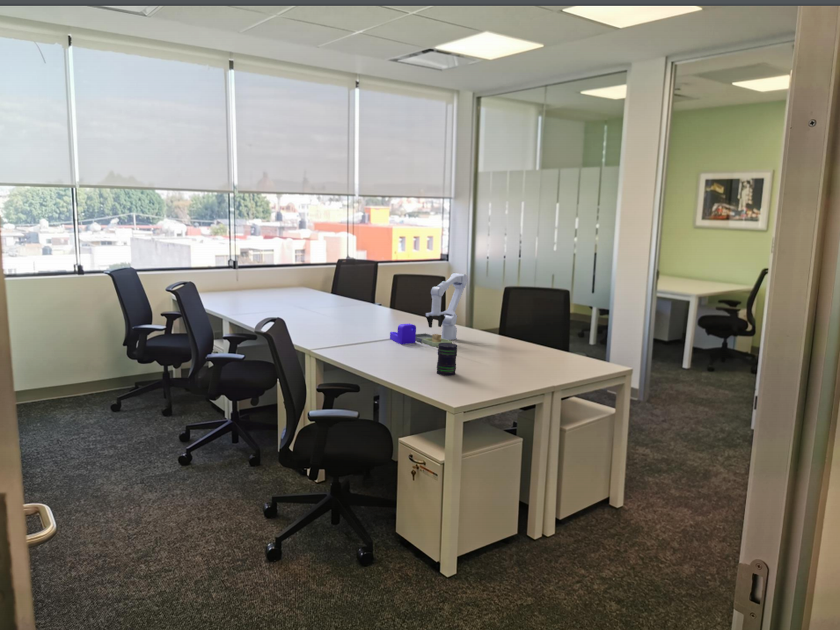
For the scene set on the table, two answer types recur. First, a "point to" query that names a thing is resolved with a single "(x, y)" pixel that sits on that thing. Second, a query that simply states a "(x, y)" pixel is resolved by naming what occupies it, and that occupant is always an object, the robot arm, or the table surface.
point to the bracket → (404, 334)
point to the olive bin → (429, 342)
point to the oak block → (436, 338)
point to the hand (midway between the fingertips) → (434, 327)
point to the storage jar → (446, 359)
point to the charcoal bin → (422, 337)
